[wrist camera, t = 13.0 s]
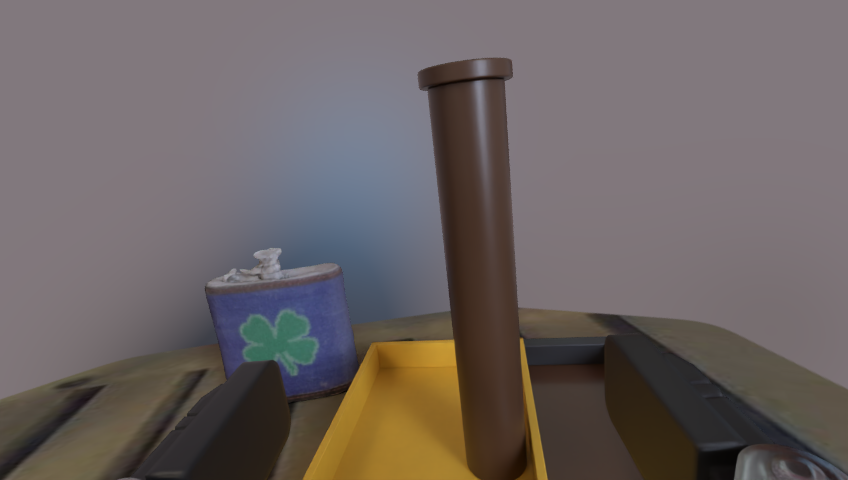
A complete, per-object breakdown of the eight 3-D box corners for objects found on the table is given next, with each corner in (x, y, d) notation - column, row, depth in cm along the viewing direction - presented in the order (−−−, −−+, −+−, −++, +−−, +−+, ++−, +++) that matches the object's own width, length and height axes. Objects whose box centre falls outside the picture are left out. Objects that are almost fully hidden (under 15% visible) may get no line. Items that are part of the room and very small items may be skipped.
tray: (249, 671, 13) (56, 72, 9) (377, 373, 29) (333, 103, 24) (578, 707, 12) (559, -11, 7) (524, 370, 27) (508, 80, 23)
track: (205, 777, 12) (182, 720, 11) (377, 373, 31) (372, 343, 30) (875, 884, 9) (896, 817, 9) (612, 369, 28) (612, 335, 28)
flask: (362, 371, 31) (338, 234, 29) (359, 395, 29) (332, 246, 26) (240, 387, 31) (203, 252, 28) (224, 413, 28) (182, 265, 26)
